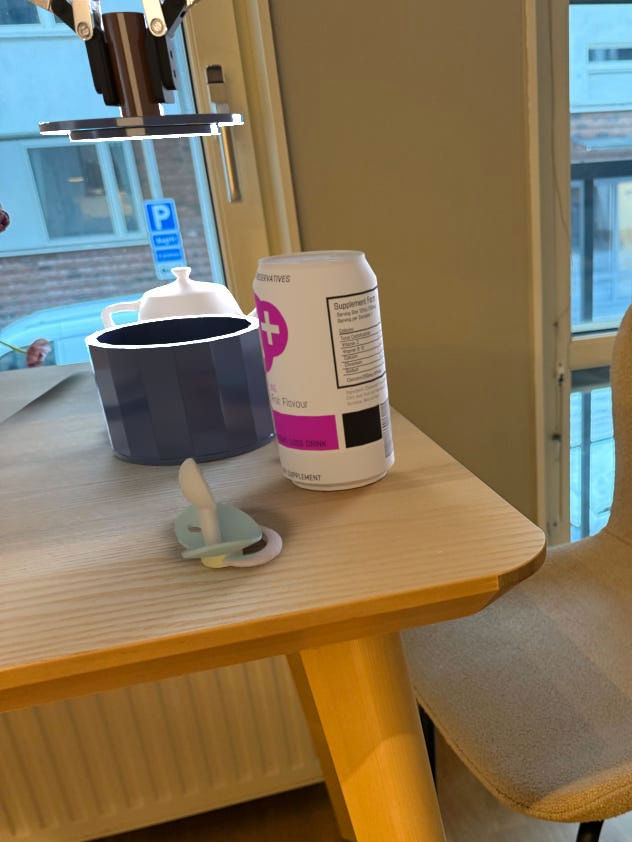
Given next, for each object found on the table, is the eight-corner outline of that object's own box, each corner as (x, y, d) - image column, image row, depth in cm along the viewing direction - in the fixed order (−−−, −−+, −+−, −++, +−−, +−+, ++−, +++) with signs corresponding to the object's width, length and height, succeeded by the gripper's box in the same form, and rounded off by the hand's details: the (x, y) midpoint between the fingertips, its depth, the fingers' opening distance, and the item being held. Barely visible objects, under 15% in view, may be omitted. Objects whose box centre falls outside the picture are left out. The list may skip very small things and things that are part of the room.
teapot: (288, 342, 115) (275, 254, 110) (290, 363, 104) (276, 266, 99) (120, 358, 112) (100, 268, 107) (106, 380, 101) (82, 281, 96)
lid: (10, 143, 63) (-26, 7, 59) (81, 142, 76) (56, 30, 72) (225, 131, 63) (203, -6, 59) (260, 132, 76) (244, 19, 72)
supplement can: (289, 500, 64) (252, 269, 57) (279, 465, 71) (245, 255, 64) (404, 484, 66) (383, 257, 59) (383, 452, 73) (362, 246, 66)
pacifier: (271, 528, 60) (175, 543, 58) (258, 433, 57) (156, 445, 55) (295, 570, 54) (189, 588, 52) (282, 465, 51) (169, 480, 49)
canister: (91, 470, 72) (60, 352, 68) (138, 423, 84) (114, 320, 80) (265, 459, 73) (246, 341, 68) (287, 413, 85) (272, 310, 80)
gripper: (215, -213, 63) (260, 100, 72) (-27, -200, 63) (48, 112, 71) (190, -254, 56) (242, 96, 65) (-81, -240, 56) (9, 109, 65)
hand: (140, 101), depth 68 cm, fingers closed on lid, 3 cm apart
